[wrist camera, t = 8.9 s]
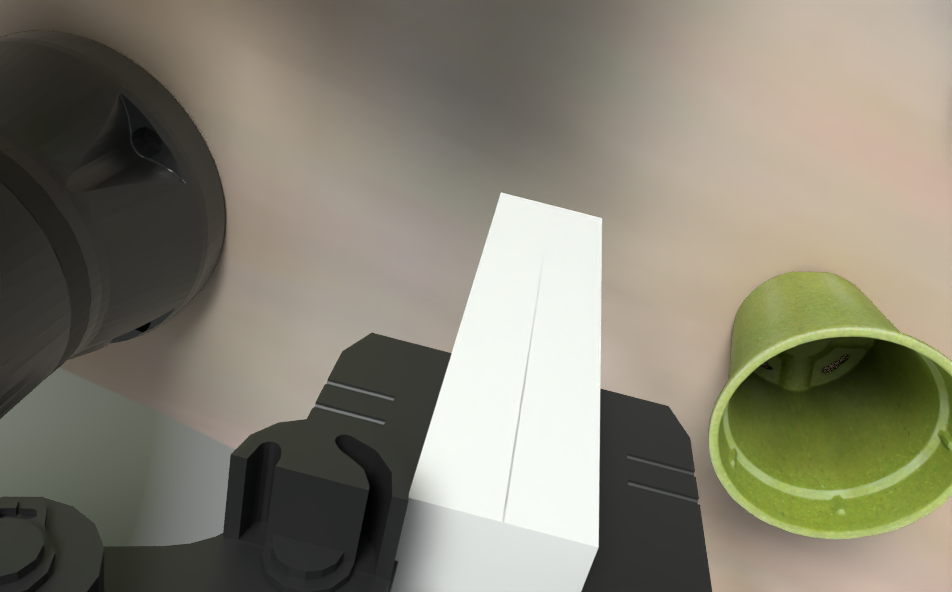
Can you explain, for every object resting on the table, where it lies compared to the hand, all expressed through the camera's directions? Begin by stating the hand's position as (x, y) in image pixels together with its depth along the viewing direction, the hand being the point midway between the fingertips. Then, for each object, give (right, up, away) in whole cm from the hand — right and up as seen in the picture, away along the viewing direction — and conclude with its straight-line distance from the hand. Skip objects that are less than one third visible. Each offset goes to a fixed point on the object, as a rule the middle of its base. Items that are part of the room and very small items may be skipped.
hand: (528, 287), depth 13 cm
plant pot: (+14, -1, +26) cm, 30 cm away
